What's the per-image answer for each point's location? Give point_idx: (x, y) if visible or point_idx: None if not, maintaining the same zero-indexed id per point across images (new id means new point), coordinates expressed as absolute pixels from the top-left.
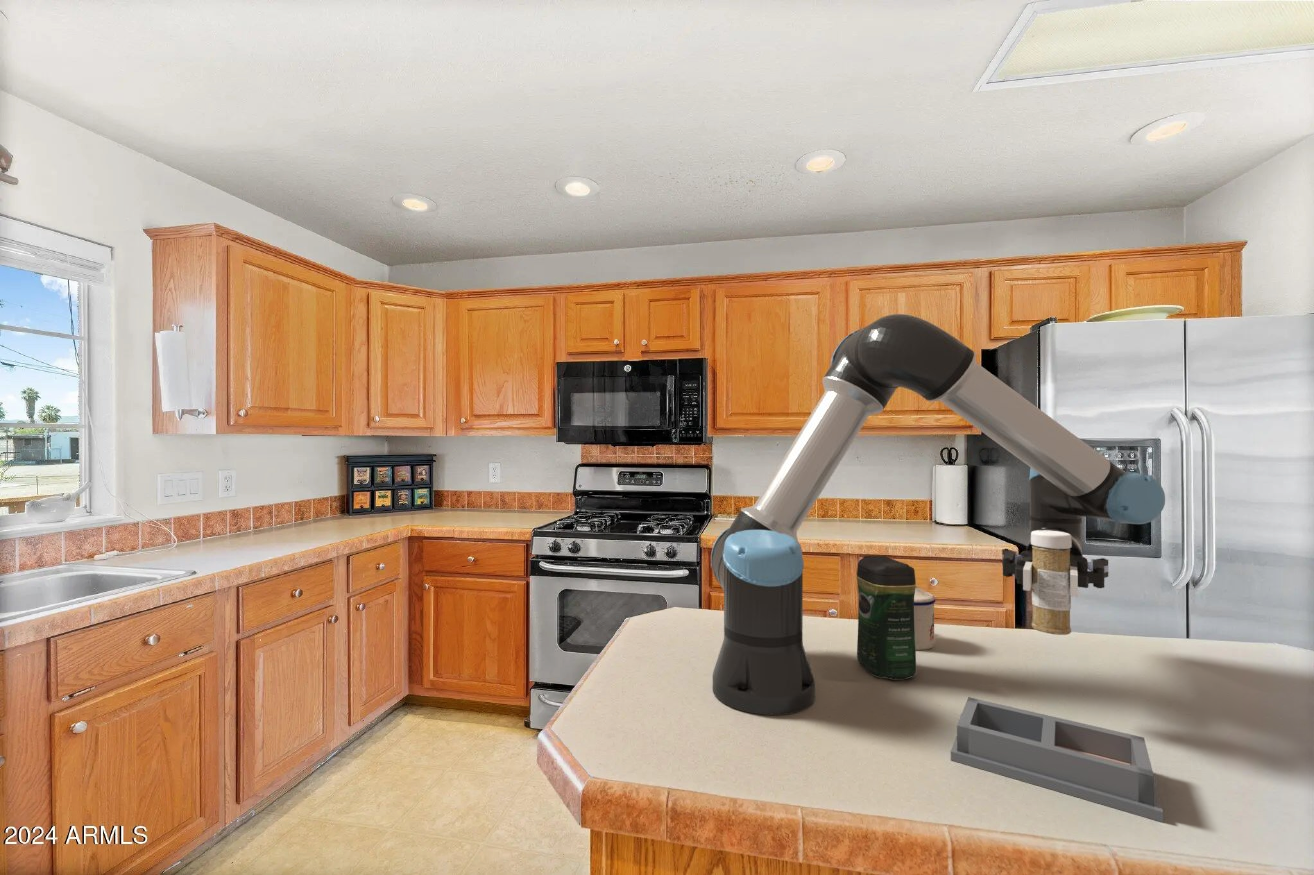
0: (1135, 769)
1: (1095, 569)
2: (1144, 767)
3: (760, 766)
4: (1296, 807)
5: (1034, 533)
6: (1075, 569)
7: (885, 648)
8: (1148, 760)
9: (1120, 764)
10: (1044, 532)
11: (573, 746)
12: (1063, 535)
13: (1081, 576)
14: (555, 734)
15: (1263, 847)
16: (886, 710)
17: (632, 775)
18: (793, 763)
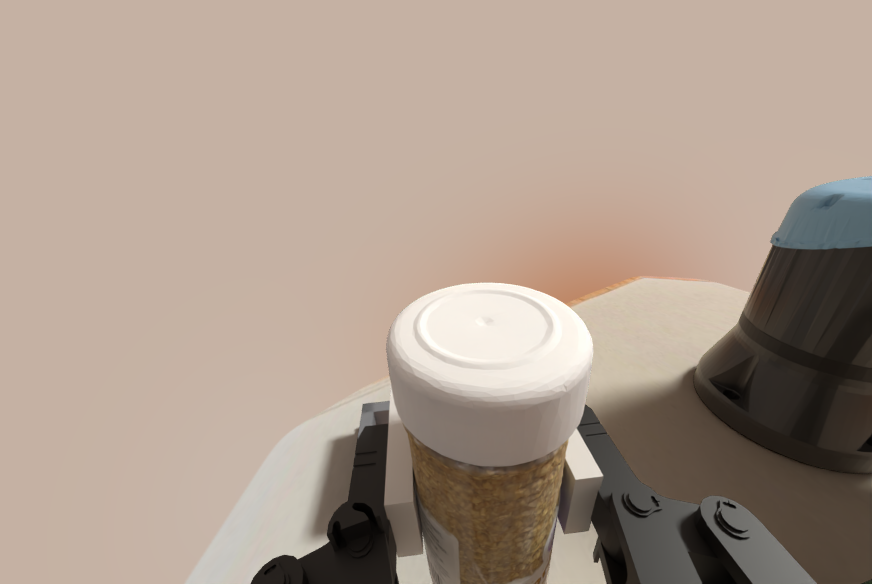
0: (375, 406)
1: (297, 561)
2: (367, 415)
3: (608, 322)
4: (204, 561)
5: (542, 294)
6: (394, 431)
7: (868, 581)
8: (359, 432)
9: (387, 406)
10: (506, 303)
11: (687, 282)
12: (419, 298)
13: (379, 425)
14: (710, 281)
15: (298, 441)
16: (664, 469)
17: (634, 286)
18: (600, 334)
